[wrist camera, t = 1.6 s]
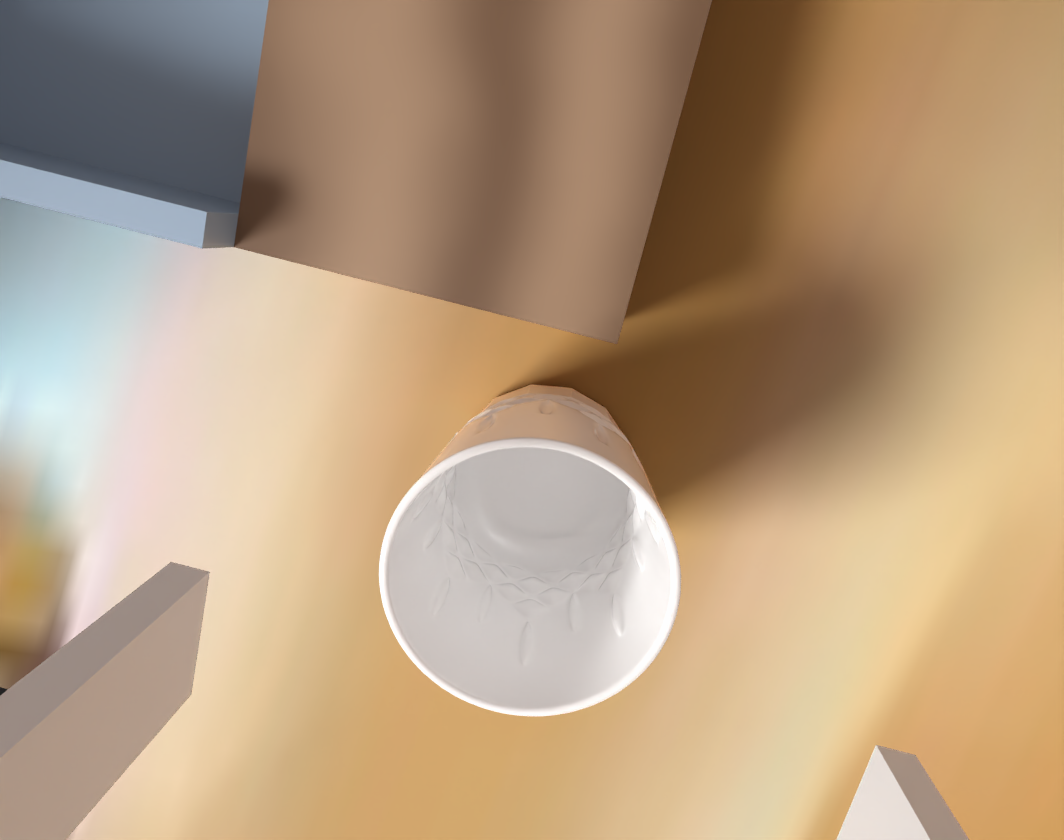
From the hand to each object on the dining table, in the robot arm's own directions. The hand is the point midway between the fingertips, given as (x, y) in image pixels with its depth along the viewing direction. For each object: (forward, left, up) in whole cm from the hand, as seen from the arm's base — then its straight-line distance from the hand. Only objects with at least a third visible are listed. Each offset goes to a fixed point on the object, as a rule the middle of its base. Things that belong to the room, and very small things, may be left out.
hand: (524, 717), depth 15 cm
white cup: (0, 0, -16) cm, 16 cm away
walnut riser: (-5, +15, -15) cm, 22 cm away
